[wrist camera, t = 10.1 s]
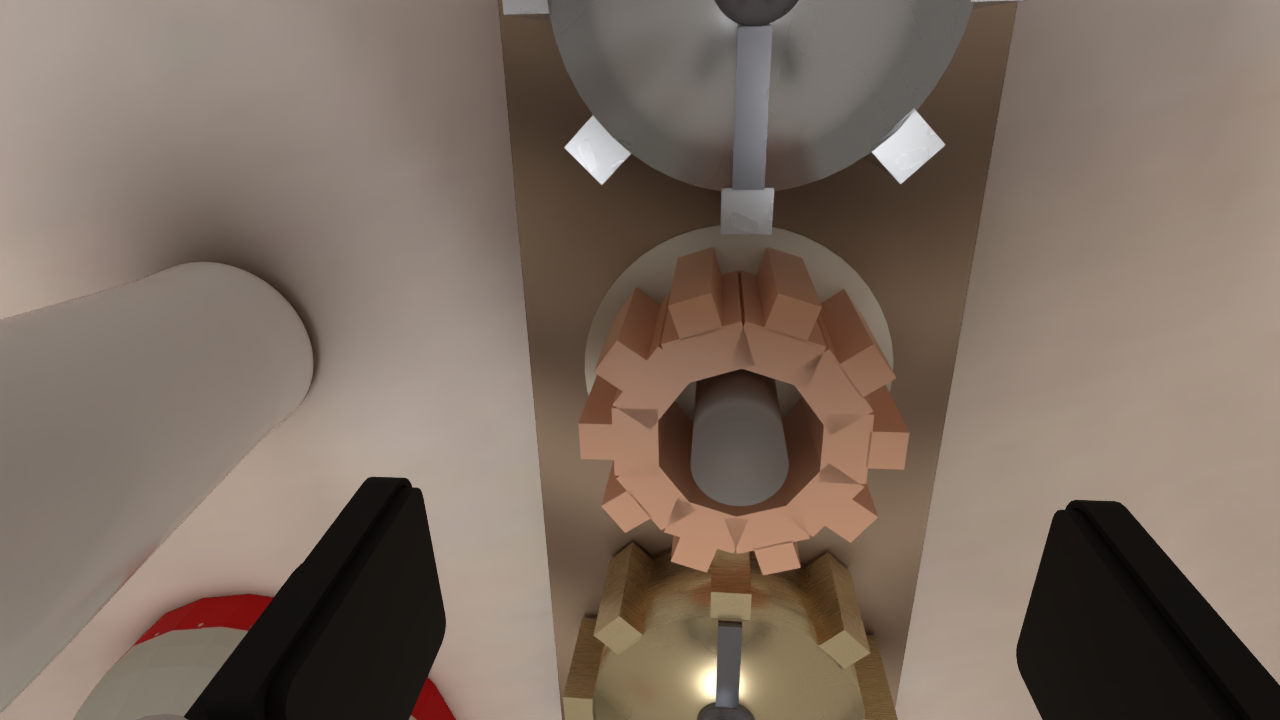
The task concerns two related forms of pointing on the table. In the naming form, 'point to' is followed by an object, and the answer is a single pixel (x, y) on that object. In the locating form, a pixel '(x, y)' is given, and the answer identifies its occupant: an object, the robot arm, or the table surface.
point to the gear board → (802, 226)
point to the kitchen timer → (194, 663)
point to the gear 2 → (726, 644)
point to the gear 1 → (754, 88)
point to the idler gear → (764, 344)
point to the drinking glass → (126, 435)
